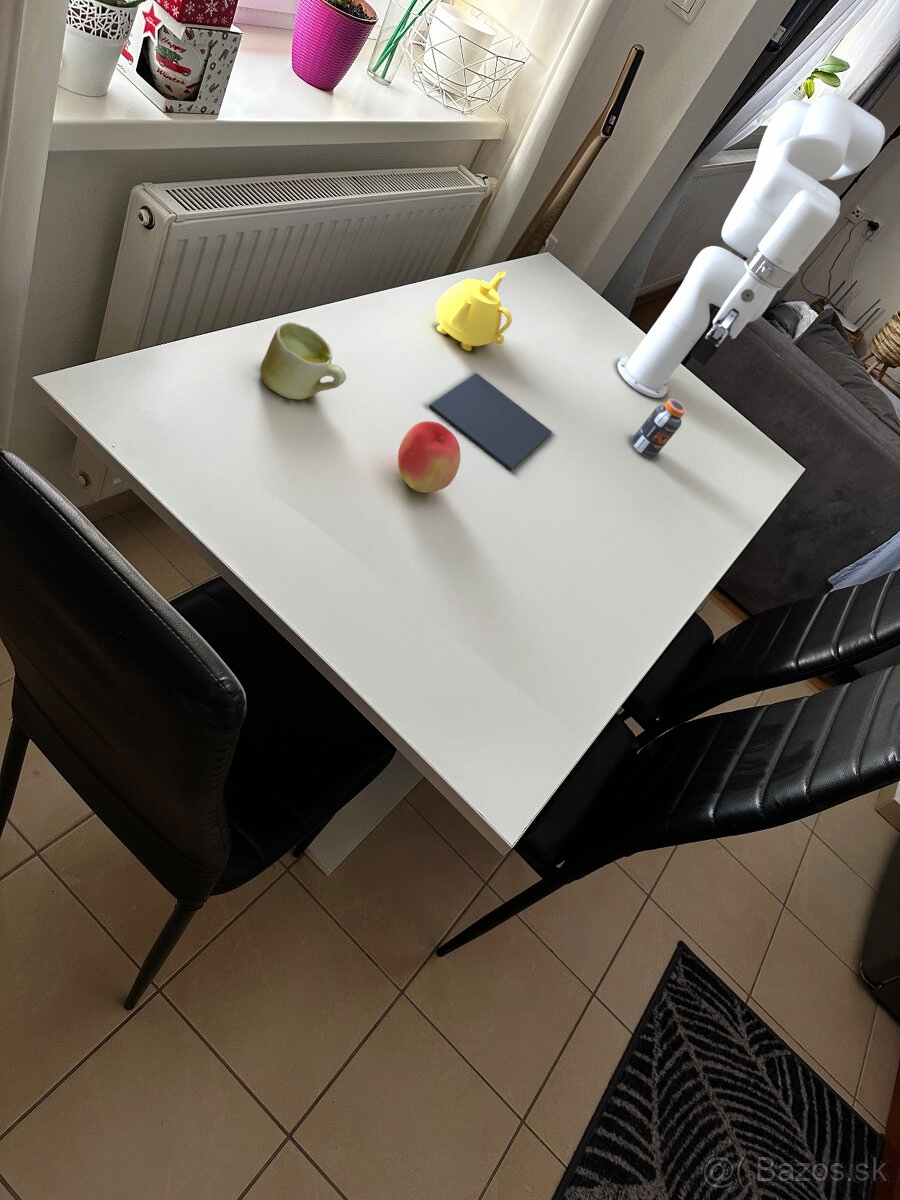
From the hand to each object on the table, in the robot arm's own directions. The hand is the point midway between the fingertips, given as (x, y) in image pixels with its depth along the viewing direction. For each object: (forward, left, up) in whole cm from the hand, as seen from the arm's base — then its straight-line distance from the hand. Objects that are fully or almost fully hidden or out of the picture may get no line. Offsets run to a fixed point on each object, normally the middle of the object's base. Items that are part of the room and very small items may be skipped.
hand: (703, 351), depth 152 cm
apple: (+51, -22, -24) cm, 60 cm away
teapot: (+5, -39, -24) cm, 46 cm away
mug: (+51, -46, -24) cm, 72 cm away
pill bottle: (-4, +2, -24) cm, 25 cm away
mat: (+23, -22, -24) cm, 40 cm away
